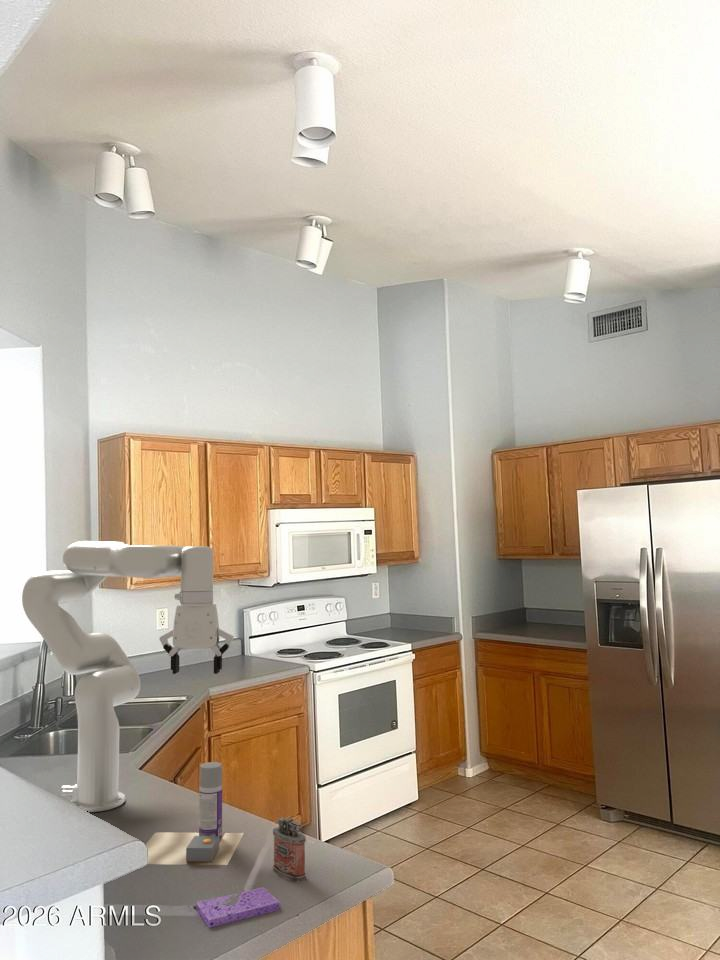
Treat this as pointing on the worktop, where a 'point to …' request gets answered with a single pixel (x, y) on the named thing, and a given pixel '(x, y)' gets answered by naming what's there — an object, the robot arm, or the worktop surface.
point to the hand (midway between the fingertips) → (196, 672)
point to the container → (210, 800)
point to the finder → (202, 849)
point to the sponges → (237, 907)
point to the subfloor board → (173, 847)
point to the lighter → (289, 850)
